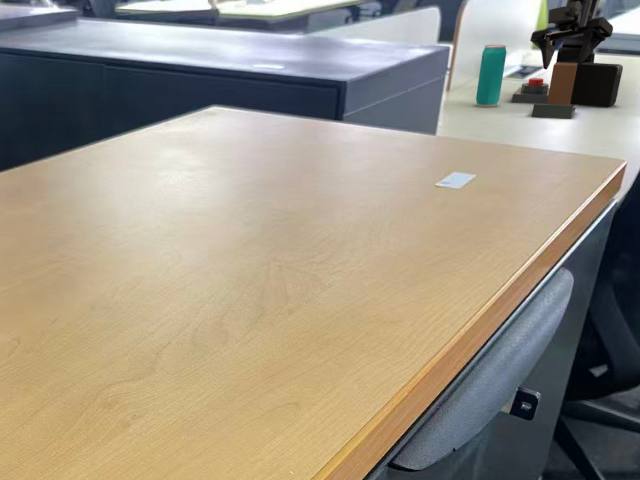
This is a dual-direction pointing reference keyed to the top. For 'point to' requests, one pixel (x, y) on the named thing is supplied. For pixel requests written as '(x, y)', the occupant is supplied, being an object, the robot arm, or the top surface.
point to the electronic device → (596, 84)
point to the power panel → (531, 94)
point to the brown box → (562, 83)
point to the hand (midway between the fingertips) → (562, 65)
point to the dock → (553, 111)
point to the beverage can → (491, 75)
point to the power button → (535, 81)
